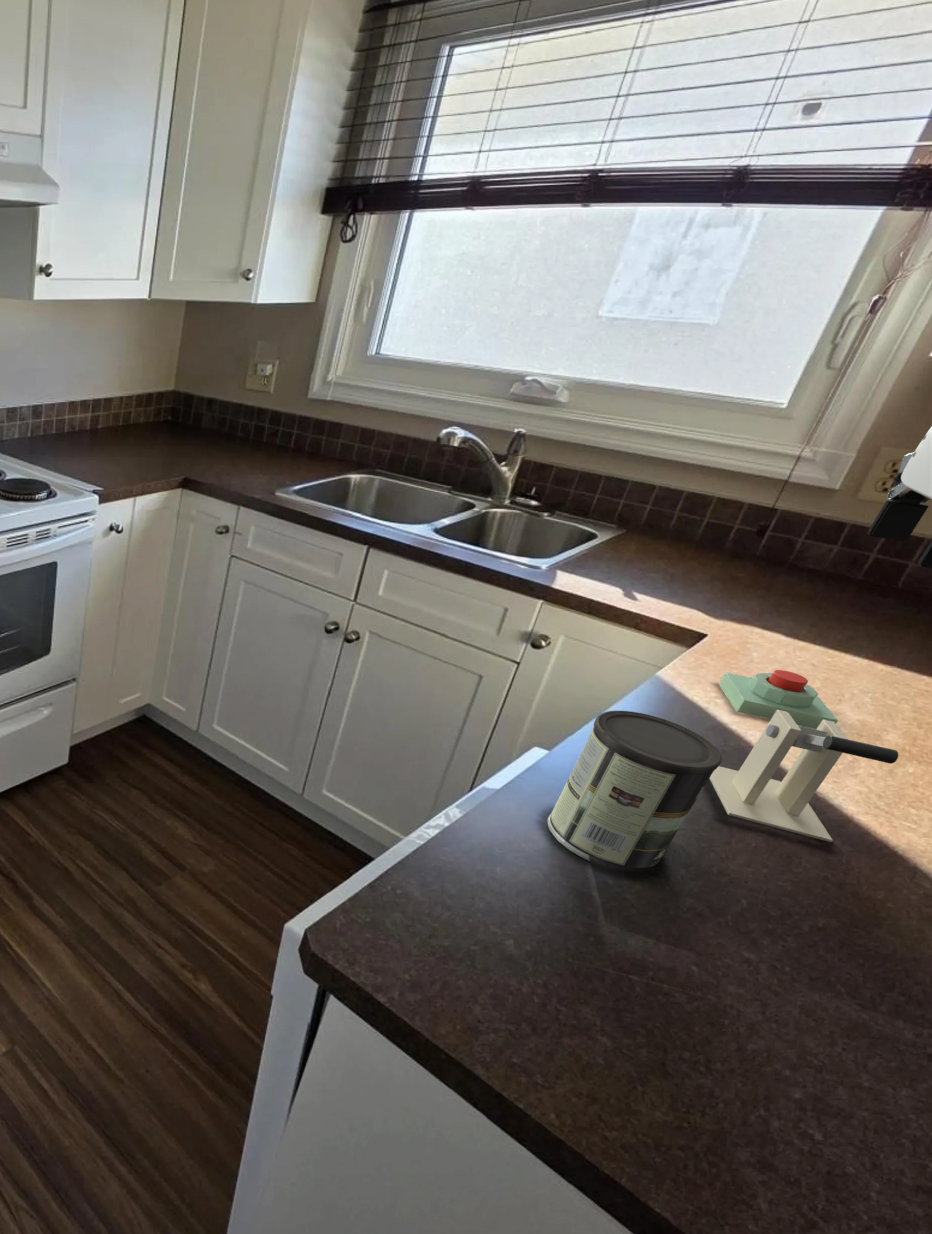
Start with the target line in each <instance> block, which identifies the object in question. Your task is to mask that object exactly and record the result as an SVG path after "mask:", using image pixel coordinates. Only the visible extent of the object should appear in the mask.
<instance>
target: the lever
mask: <svg viewBox="0 0 932 1234" xmlns="http://www.w3.org/2000/svg"><path fill="white" fill-rule="evenodd" d="M798 726H799V728H800V729H801V730H802V731H801V733H800V734H799V736H798V737H797V739H796V740H795V742H794V744H793V745H792V747H794V748H798V749H802V750H803V749H806V750H811V751H815V752H821V749H822V747H824V748H825V749H828V750H833V751H837V752H841V753H842V754H846V755H850V756H854V757H860V758H863V759H868V760H872V761H875V762H876V761H877V762H881V763H885V764H890V765H891V764H894V763H896V762H897V761H898V759H899V752H898V751H897V749H894V748H893V749H892V748H888V747H883V746H880V745H875V744H870V743H867V742H861V741H856V740H853V739H849V738H848V739H849V740H848V739H844V738H839V737H835V736H827V737H826V734H827V732H825V731H820V730H816V729H813V728H809V727H804V726H800V725H798ZM825 737H826V738H825Z"/></svg>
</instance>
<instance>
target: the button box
mask: <svg viewBox="0 0 932 1234" xmlns="http://www.w3.org/2000/svg"><path fill="white" fill-rule="evenodd" d="M772 673H773V672H757V673H756V674H755V675H754V676H753V677H750V676H745V675H741V674H736V673H730V672H725V673H724V674H723V676H722V678H721V680H720V681H719V683H718V685H719V687H720V689H721V690H722V692H723V693H724V695H725V696H726V697H727V700H728V702H729V703H730V704H731V706H732V707H733V709H734V710H735V712H736V713H741V714H747V715H750V716H755V717H760V718H764V719H768V720H771V719H772V717H773V715H774V714H775V712H776V711H777V710H781V711H786V712H788V713H789V714H790V716H791V717H792V718H793V720H794V721H795V722H796V724H797V725H798V726H802V727H807V728H811V729H817V728H818V726H819V725H820V723H821V722H822V720H827V721H832V722H835V724H836V725H837V723H838V722H839V720H838V718H837V717H836V716H835V714H833V712H832V711H831V710H830V709H829V707H827V705H826V704H825V703H824V702H823V700H822V699H821V698H820V697H819V696H818V695H819V693H818V691H817V690H816V689H815V688H814V687H812V686H811V685H808V683H807V684H806V686H805V687H804V689H803V691H802V692H792V691H787V690H784V689H781V688H778V687H775V686H773V685H772V684H770V683H768V680H769V678H770V677H771V675H772Z"/></svg>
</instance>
